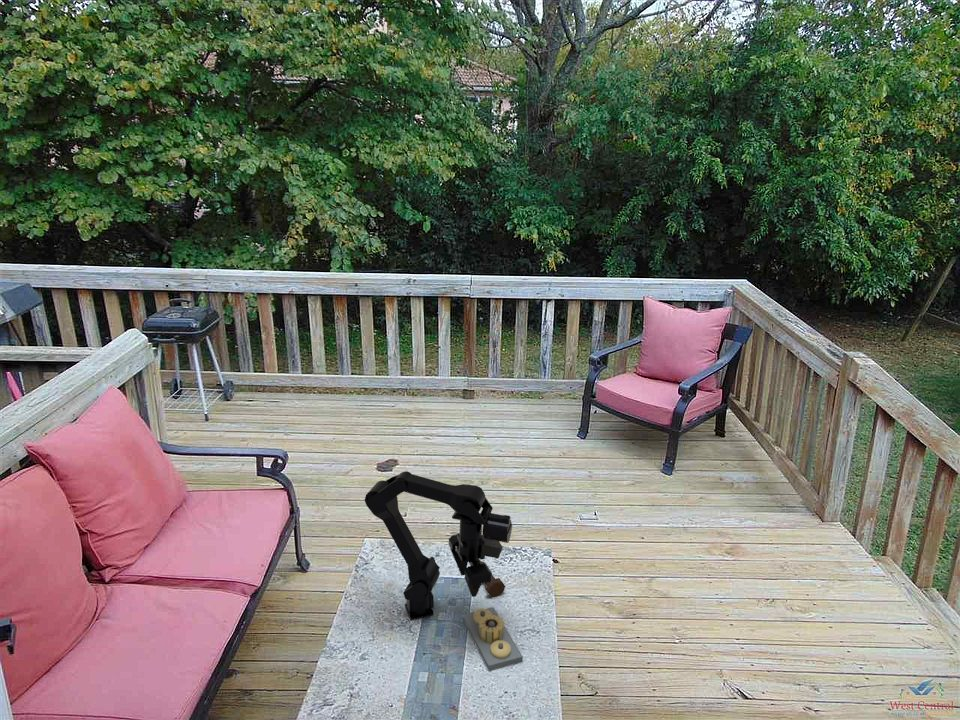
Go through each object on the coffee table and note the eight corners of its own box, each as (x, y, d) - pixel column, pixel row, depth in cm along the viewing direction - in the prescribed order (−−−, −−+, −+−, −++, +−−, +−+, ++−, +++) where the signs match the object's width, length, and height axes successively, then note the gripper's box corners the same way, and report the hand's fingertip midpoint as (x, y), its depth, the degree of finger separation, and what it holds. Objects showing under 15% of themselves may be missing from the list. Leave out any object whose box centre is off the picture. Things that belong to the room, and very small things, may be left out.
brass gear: (484, 646, 164) (484, 634, 163) (475, 629, 170) (475, 618, 169) (507, 639, 167) (507, 628, 165) (497, 623, 172) (498, 612, 171)
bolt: (477, 572, 199) (499, 600, 186) (463, 568, 196) (485, 596, 183) (485, 555, 199) (508, 582, 185) (472, 551, 196) (494, 578, 183)
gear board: (488, 670, 159) (489, 652, 157) (462, 619, 176) (462, 601, 174) (522, 661, 162) (523, 643, 160) (493, 611, 179) (493, 594, 177)
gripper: (513, 549, 162) (509, 602, 166) (487, 511, 178) (485, 559, 183) (470, 557, 158) (468, 610, 163) (448, 516, 175) (447, 566, 180)
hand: (468, 585), depth 172 cm, fingers open, 9 cm apart
